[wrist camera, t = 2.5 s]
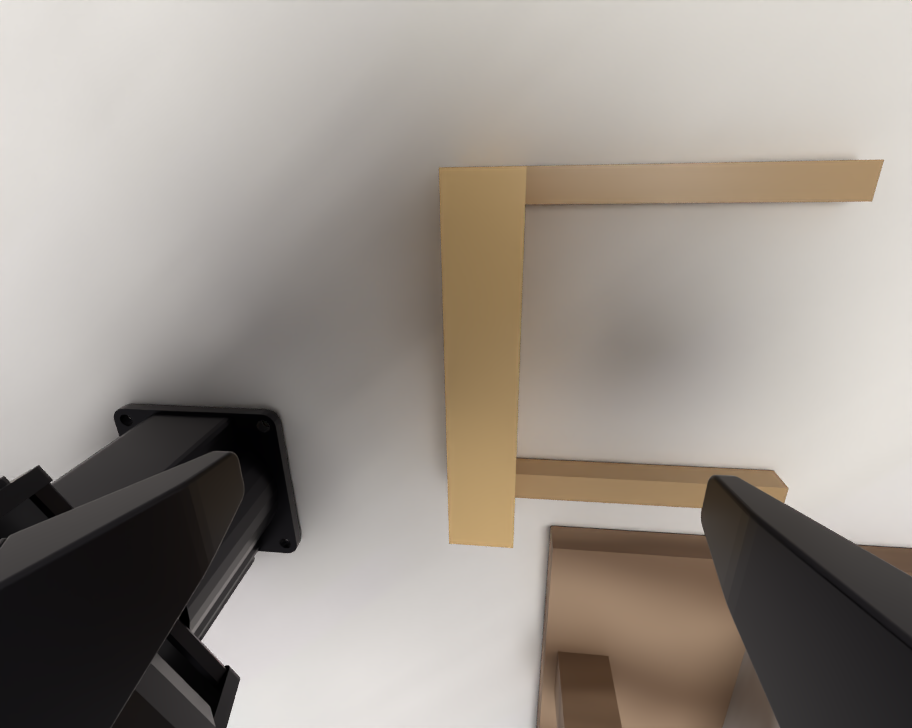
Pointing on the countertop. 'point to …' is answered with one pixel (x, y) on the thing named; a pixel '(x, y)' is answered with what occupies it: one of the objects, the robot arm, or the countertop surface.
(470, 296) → the wooden c-shaped bracket
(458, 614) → the countertop surface
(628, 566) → the display stand
